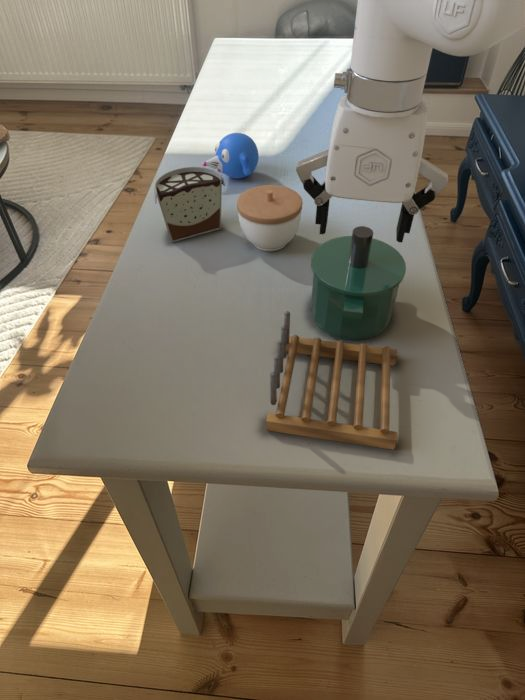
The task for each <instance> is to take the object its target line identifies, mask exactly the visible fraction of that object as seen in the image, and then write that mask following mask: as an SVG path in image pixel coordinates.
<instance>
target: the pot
mask: <svg viewBox="0 0 525 700" xmlns="http://www.w3.org/2000/svg"><path fill="white" fill-rule="evenodd" d="M312 274H313V275H312V276H313V277H312V288H311V289H312V290H311V301H310V314H311V317H312V319H313V321H314V323H315V324H316V326H317V327H318V328H319V329H321V330H322V331H323V332H324V333H326V334H327V335H330V336H331V337H332V336H333V337H335V338H338V339H342V340H347V341H362V340H367V339H368V340H369V339H371V338H373V337H377V336H378V335H379V334H381V333H382V332H384V331H385V330H386V329H387V327H388V325H389V324H390V321H391V320H392V316H393V311H394V308H395V303H396V301H397V300H396V299H397V296H398V291H399V287H400V284H399V285H398V286H397V287H395V288H394V289H392V290H391V291H388V292H386V293H383V294H379V295H375V296H352V295H347V294H342V293H339V292H336V291H334V290H332V289H330V288H328V287H326V286H325V285H323V284H322V283H321V282H320V281H319V280H318V279H317V278H316V277H315V275H314V273H312Z"/></svg>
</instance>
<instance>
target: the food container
mask: <svg viewBox="0 0 525 700" xmlns="http://www.w3.org/2000/svg"><path fill="white" fill-rule="evenodd" d="M223 187H226V183H225V180H224V178H223V176H222V173H220V172H218V171H216V170H215V169H213V168H209V167H208V168H207V167H204V166H187V167H180V168H176V169H172V170H169V171H167V172H165V173H163V174H162V175H161V176H159V178H158V179H157V180H156V181H155V183H154V188H153V201H154V204H155V205H156V204H157V203H158V205H159V207H160V210H161V214H162V217H163V220H164V223H165V226H166V229H167V233H168V236H169V240H170V242H171V243H176V242H179V241H183V240H186V239H189V238H193V237H197V236H201V235H204V234H207V233H211V232H214V231H217V230H221V229H222V199H223V198H222V196H223V195H222V194H223V192H222V191H223ZM157 200H158V202H157Z"/></svg>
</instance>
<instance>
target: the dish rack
mask: <svg viewBox="0 0 525 700" xmlns="http://www.w3.org/2000/svg"><path fill="white" fill-rule="evenodd" d="M283 321H284V323H283V324H282V326H281V327H280V329H281V330H280V339H279V340H278V341H277V354H276V355H274V358H273V371H272V372H271V373H270V375H269V376H270V377H269V381H270V383H269V384H270V387H269V388H270V393H269V395H270V396H269V397H270V405H271V406H275V405H277V406H276V412H275V413H272V412H268V413H267V416H266V420H265V421H266V422H265V425H266V429H265V430H266V431H268V432H275V433H282V434H286V435H288V434H289V435H295V436H300V437H306V438H314V439H319V440H320V439H321V440H327V441H332V442H341V443H347V444H353V445H354V444H355V445H359V446H367V447H373V448H380V449H387V450H395V448H396V445H397V442H398V431H394V430H390V410H391V407H390V405H391V402H390V401H391V400H390V399H391V366H392V367H394V366H396V363H397V359H398V349H396V348H391V347H390V346H388V345H385V346H383V347H379V346H371V345H367V344H366V343H360V344H355V343H347V342H344V340H337V341H332V340H331V341H330V340H323V339H322V338H320V337H315V338H308V337H307V338H306V337H300V336H299V335H298V334H293V335H292V336H290V332H291V329H290V328H291V312H290V311H288V310H287V311H284V320H283ZM287 353H288V354H287ZM297 354H299V355H306V356H307V355H308V356H311V357H310V362H309V368H308V375H307V381H306V386H305V391H304V400H303V405H302V412H301V417H299V416H292V415H285V414H286V409H287V403H288V400H289V399H288V398H289V393H290V387H291V383H292V377H293V372H294V367H295V362H296V357H297ZM320 357H321V358H322V357H323V358H330V359H334V361H333V370H332V379H331V387H330V395H329V404H328V411H327V420H318V419H314V418H313V419H311V416H312V410H313V409H312V408H313V401H314V395H315V387H316V381H317V375H318V368H319V360H320ZM286 358H287V359H286ZM284 359H286V362H285V363H286V364H285V367H284ZM343 360H344V361H345V360H346V361H354V362H357V371H356V373H357V374H356V375H357V376H356V385H355V386H356V387H355V401H354V412H353V413H354V414H353V424H346V423H339V422H337V418H338V417H337V416H338V408H339V397H340V388H341V379H342V370H343ZM367 363H370V364H377V365H381V384H380V385H381V388H380V389H381V392H380V418H379V419H380V421H379V422H380V423H379V428H374V427H368V426H367V427H366V426H363V425H364V405H365V392H366V391H365V390H366V389H365V388H366V372H367V370H366V369H367ZM283 372H284V373H283ZM281 374H283V378H282V382H281ZM280 387H281V388H280ZM278 389H280V392H279V397H278V402H277V390H278Z"/></svg>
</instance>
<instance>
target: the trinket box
mask: <svg viewBox="0 0 525 700" xmlns="http://www.w3.org/2000/svg"><path fill="white" fill-rule="evenodd" d="M236 200H237V201H236V208H237V215H238V222H239V226H240V229H241V232H242V233H243V236H244V237H245V238H246V240H247V241H248V242H249V243H251V244H252V245H253V246H254V247H255V248H256V249H257V250H260V251H263V252H275V251H279V250H281V249H283V248H285V247H286V246H287V245H288V244H289V243H290V242H291V241H292V240H293V239H294V237H295V236H296V235H297V233H298V231H299V227H300V225H301V218H302V210H303V198H302V196H301V195H300V194H299V193H298V192H297V191H296V190H294V189H292V188H290V187H286V186H283V185H277V184H263V185H258V186H253V187H250V188H249V189H246V190H245V191H243V192H242V193H241V194H240V195H239V196H238V198H237V199H236Z"/></svg>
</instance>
